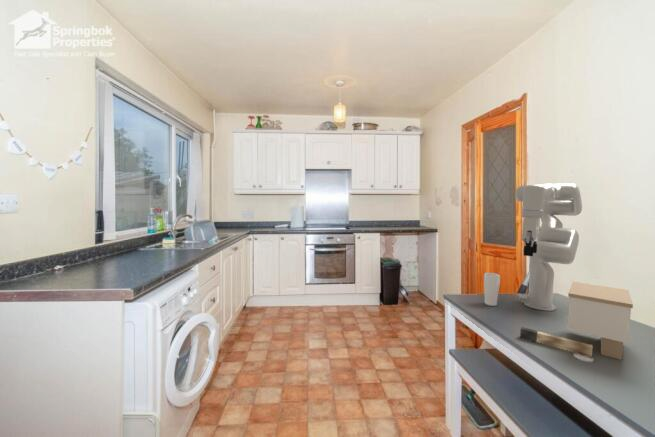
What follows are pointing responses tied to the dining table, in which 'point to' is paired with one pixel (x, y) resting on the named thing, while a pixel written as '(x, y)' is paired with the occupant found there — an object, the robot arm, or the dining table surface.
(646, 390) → the dining table surface
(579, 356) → the steel disc
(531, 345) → the dining table surface
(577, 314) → the cabinet
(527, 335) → the two-tone wooden stick
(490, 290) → the drinking glass
